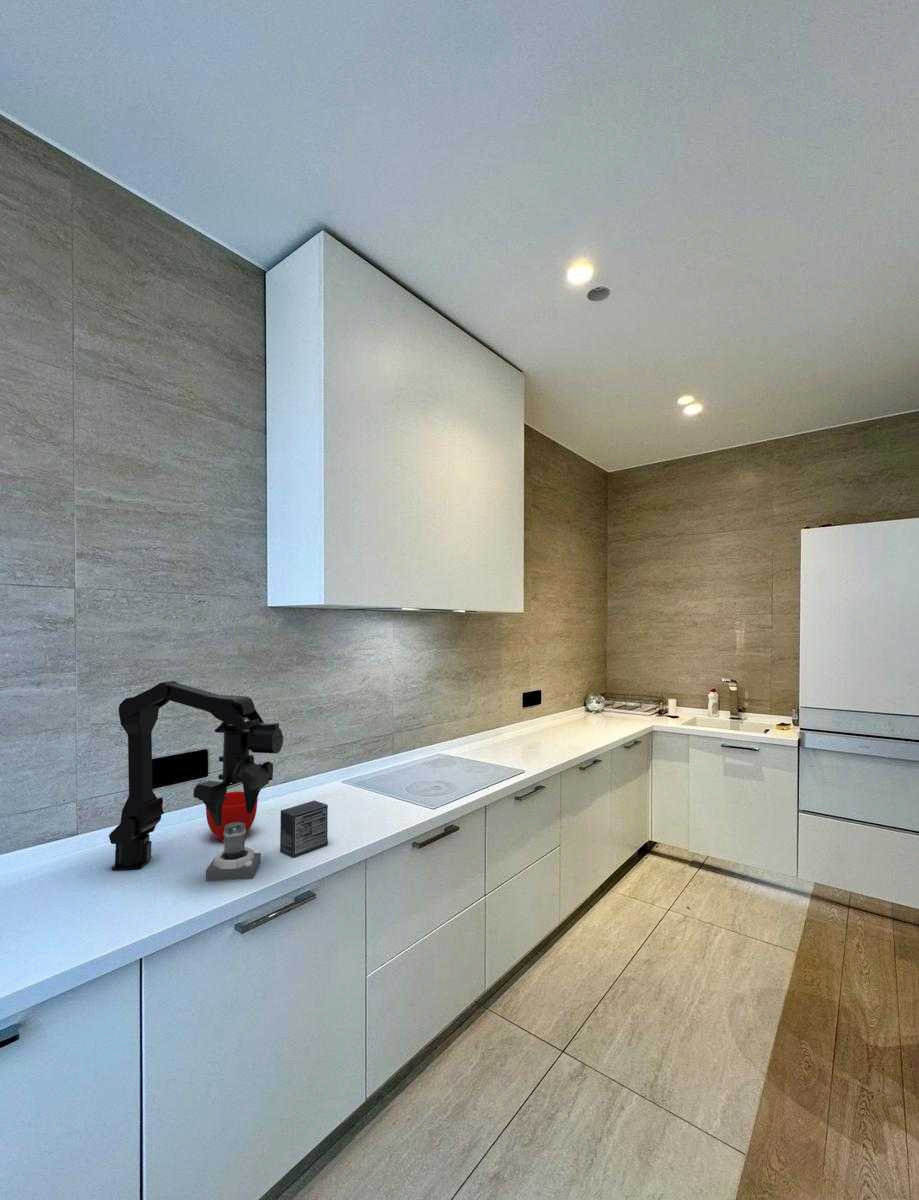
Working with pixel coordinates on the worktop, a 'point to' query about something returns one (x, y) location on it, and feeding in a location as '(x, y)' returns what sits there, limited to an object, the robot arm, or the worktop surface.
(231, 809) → the ceramic cup
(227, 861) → the camera body mount
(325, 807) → the small box
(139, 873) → the worktop surface
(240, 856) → the lens
